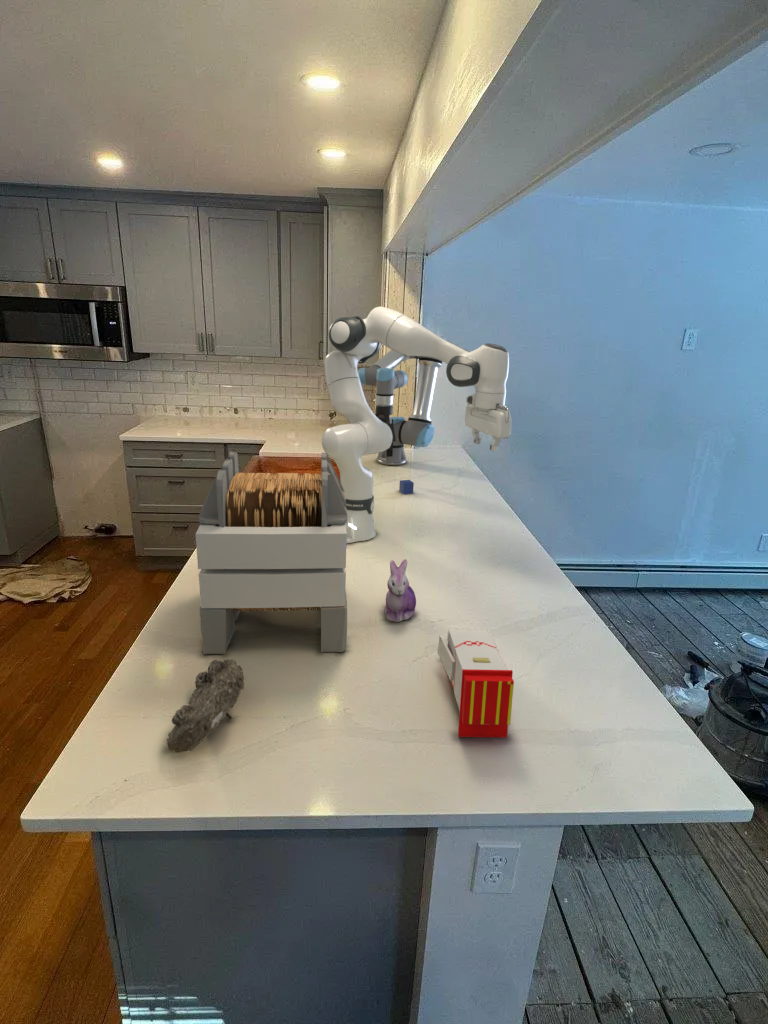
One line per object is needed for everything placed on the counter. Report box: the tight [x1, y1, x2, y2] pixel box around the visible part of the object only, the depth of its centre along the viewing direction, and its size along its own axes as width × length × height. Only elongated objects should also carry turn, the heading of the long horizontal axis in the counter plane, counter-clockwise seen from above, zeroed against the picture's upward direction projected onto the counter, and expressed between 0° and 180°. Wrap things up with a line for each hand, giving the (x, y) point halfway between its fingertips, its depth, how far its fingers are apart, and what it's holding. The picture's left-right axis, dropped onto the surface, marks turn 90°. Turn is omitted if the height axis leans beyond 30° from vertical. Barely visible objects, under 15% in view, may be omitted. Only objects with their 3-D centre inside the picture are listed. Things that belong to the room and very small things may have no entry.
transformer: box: [195, 450, 348, 656], centre depth 137 cm, size 34×33×41 cm
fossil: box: [166, 658, 245, 754], centre depth 106 cm, size 22×10×15 cm
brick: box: [398, 479, 415, 495], centre depth 245 cm, size 4×5×5 cm
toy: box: [437, 628, 515, 738], centre depth 117 cm, size 12×13×30 cm
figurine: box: [384, 558, 417, 623], centre depth 145 cm, size 9×10×15 cm
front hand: (484, 447), depth 172 cm, fingers open, 8 cm apart
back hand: (382, 452), depth 253 cm, fingers open, 13 cm apart
